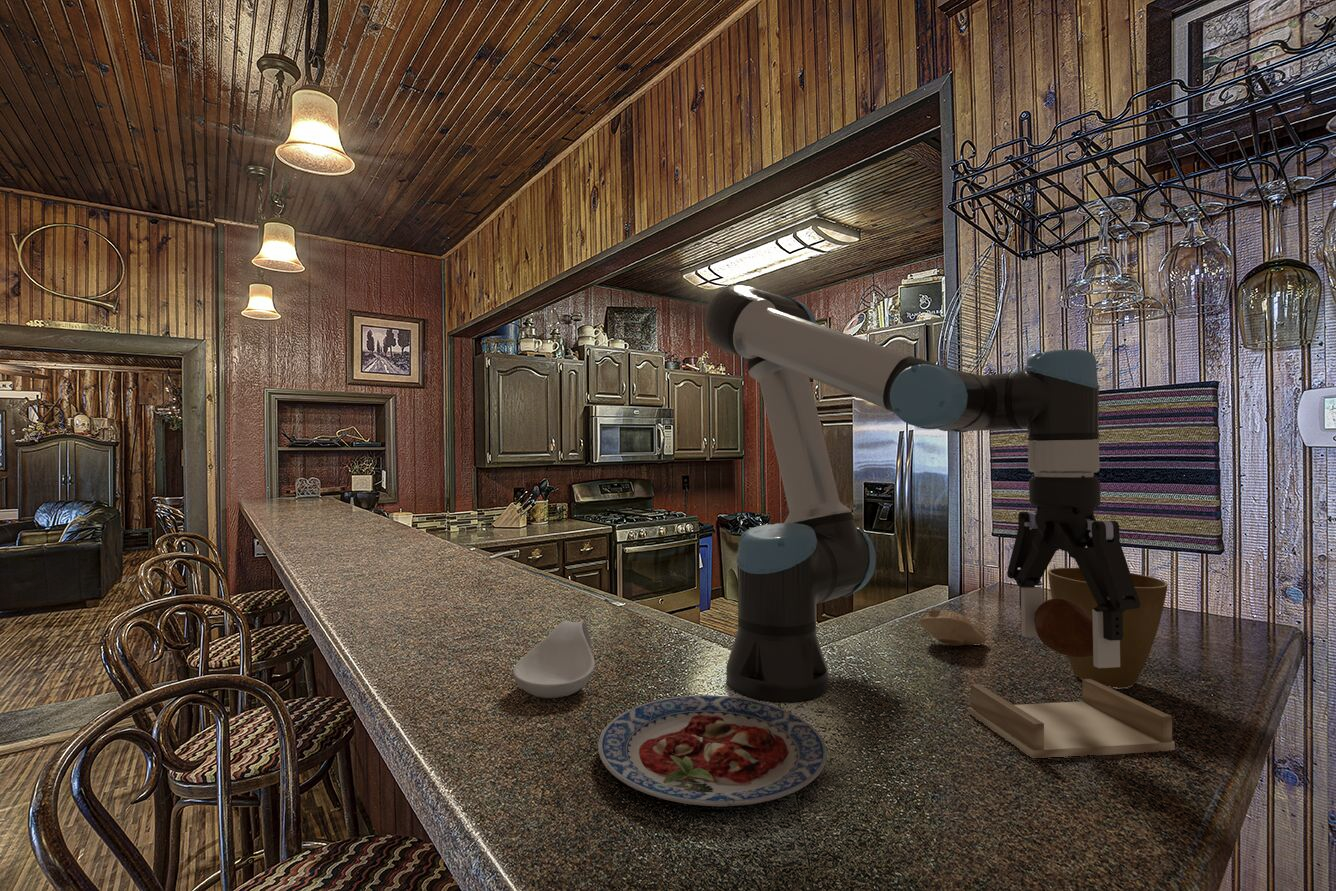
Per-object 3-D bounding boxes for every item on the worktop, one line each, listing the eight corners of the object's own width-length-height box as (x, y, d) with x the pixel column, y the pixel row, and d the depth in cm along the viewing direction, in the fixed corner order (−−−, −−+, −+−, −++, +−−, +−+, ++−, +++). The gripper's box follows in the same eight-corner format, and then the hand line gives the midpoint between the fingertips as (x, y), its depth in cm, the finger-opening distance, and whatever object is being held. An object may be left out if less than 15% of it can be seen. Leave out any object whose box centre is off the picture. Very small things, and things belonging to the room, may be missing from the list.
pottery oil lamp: (1004, 652, 108) (1003, 612, 108) (943, 658, 105) (943, 616, 105) (968, 637, 116) (968, 600, 116) (912, 642, 113) (912, 603, 113)
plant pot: (1114, 705, 85) (1114, 588, 85) (1025, 668, 100) (1025, 569, 100) (1194, 694, 89) (1194, 583, 89) (1098, 660, 103) (1097, 564, 104)
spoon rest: (587, 709, 84) (587, 657, 85) (502, 708, 85) (502, 655, 85) (610, 653, 108) (610, 612, 108) (543, 652, 109) (543, 611, 109)
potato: (1073, 668, 71) (1072, 612, 71) (1015, 638, 83) (1014, 590, 83) (1125, 667, 71) (1124, 611, 72) (1059, 638, 83) (1059, 590, 83)
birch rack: (1031, 759, 70) (1031, 724, 70) (968, 714, 82) (968, 684, 82) (1174, 750, 72) (1174, 716, 72) (1092, 708, 84) (1092, 678, 84)
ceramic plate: (689, 695, 89) (689, 675, 89) (863, 750, 73) (863, 725, 73) (549, 766, 69) (549, 739, 69) (747, 863, 53) (747, 828, 53)
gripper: (1179, 477, 66) (1184, 683, 66) (1025, 472, 90) (1028, 623, 89) (1115, 478, 65) (1119, 686, 65) (977, 473, 89) (980, 625, 88)
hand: (1066, 650), depth 77 cm, fingers closed on potato, 11 cm apart
